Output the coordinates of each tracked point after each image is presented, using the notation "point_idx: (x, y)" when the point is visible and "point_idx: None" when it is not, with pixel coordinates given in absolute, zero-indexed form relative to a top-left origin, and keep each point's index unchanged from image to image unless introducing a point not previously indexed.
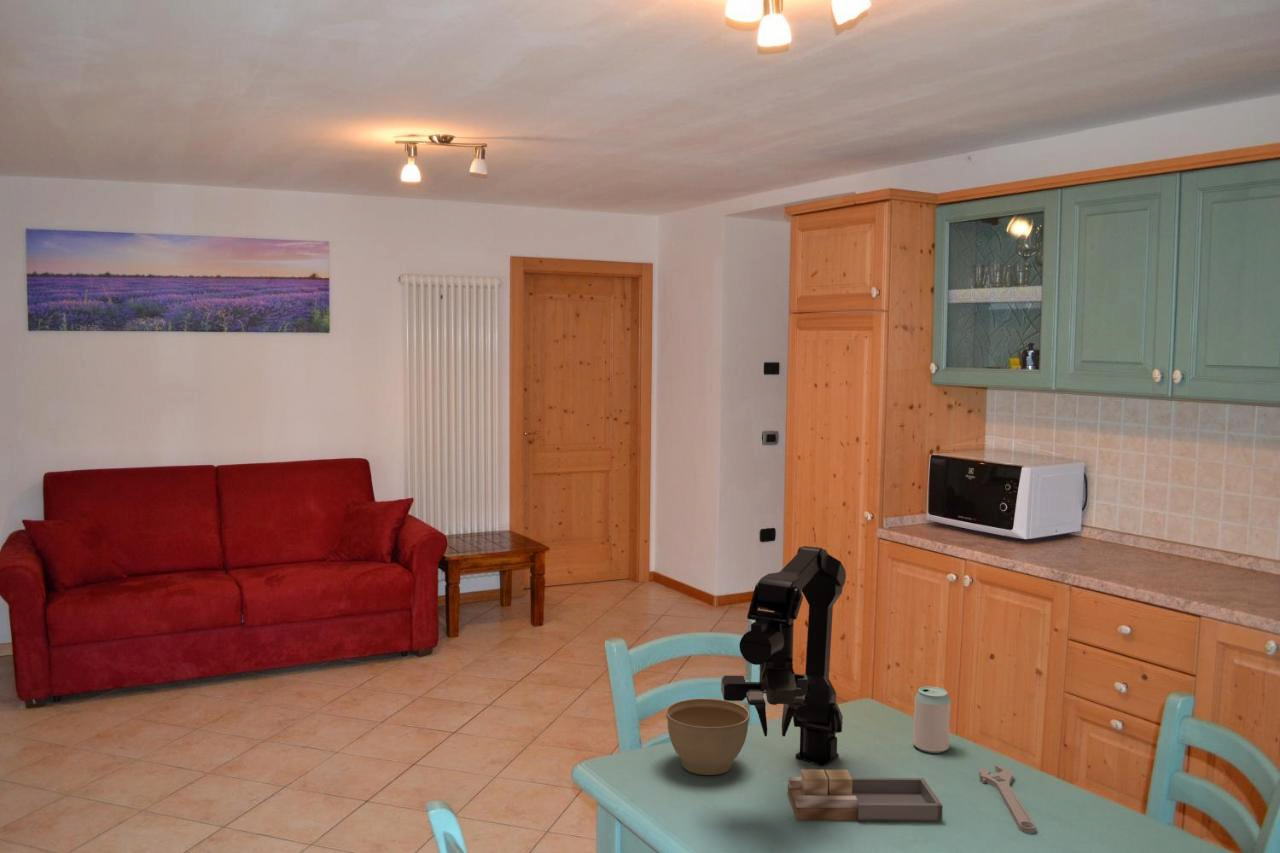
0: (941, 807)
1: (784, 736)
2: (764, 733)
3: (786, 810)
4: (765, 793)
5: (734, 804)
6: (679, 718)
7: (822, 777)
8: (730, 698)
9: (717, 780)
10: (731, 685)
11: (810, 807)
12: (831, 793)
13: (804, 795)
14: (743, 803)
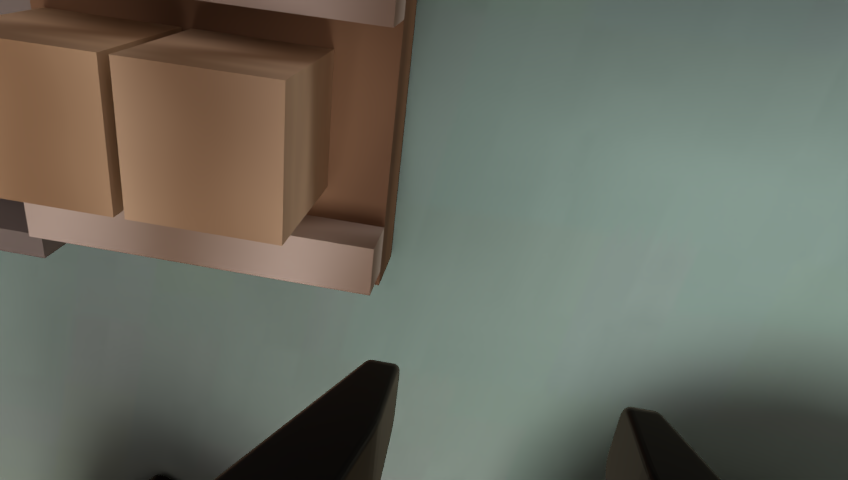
0: None
1: (373, 362)
2: (674, 436)
3: (451, 75)
4: (506, 285)
5: (735, 191)
6: None
7: (147, 91)
8: None
9: (708, 451)
10: None
11: None
12: (140, 31)
13: (330, 17)
14: (675, 195)
